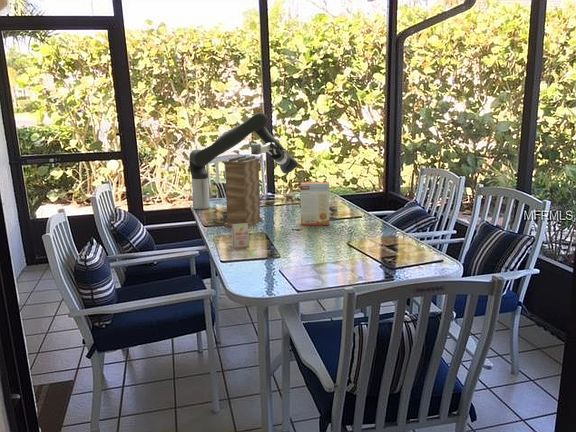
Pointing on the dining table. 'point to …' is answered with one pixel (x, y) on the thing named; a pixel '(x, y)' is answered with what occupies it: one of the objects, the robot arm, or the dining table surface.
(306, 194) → the cracker box
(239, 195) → the walnut stand
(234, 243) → the small beige carton
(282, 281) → the dining table surface
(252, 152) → the steel bar
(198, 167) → the robot arm
